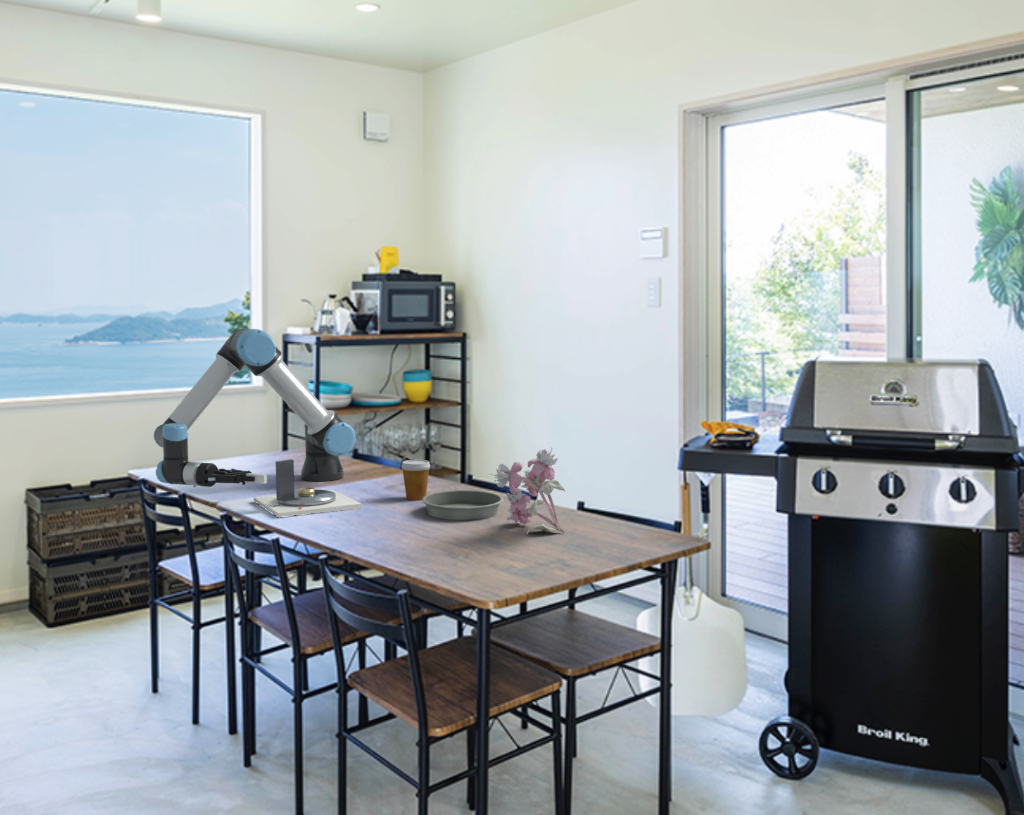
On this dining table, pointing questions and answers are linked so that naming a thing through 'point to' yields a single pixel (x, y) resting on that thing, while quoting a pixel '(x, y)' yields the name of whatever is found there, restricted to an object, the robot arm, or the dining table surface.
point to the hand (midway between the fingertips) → (265, 479)
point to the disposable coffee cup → (415, 478)
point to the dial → (301, 495)
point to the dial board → (288, 510)
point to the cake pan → (462, 504)
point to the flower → (531, 489)
